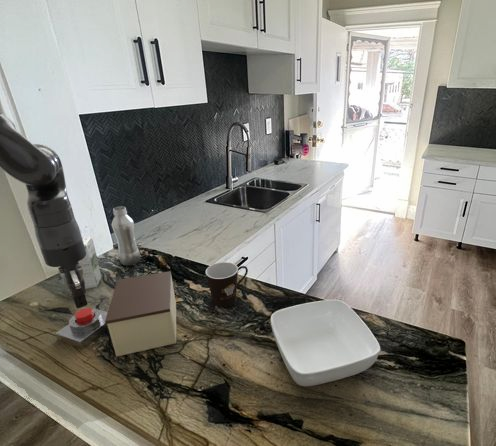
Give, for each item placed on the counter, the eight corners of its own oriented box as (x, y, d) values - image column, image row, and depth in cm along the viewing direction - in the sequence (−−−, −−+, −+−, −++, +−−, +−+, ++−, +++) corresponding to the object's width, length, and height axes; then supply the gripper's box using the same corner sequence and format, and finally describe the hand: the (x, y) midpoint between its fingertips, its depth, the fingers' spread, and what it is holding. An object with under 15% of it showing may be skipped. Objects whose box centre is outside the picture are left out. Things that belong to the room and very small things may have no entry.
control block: (82, 349, 72) (77, 335, 70) (57, 340, 74) (52, 327, 73) (118, 321, 81) (115, 308, 79) (95, 314, 83) (91, 302, 81)
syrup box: (81, 280, 97) (69, 238, 92) (103, 277, 99) (92, 235, 93) (75, 290, 92) (62, 246, 87) (98, 287, 94) (86, 244, 88)
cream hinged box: (176, 343, 74) (170, 309, 70) (116, 356, 70) (106, 321, 66) (176, 303, 87) (171, 273, 84) (125, 313, 83) (118, 282, 80)
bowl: (340, 317, 83) (342, 293, 80) (385, 379, 66) (390, 351, 63) (265, 335, 77) (264, 310, 74) (293, 409, 59) (293, 380, 56)
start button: (84, 325, 74) (82, 319, 73) (73, 321, 75) (71, 316, 74) (97, 316, 77) (96, 310, 76) (86, 312, 78) (85, 306, 77)
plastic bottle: (133, 256, 112) (122, 203, 104) (146, 261, 108) (135, 207, 101) (116, 264, 106) (102, 209, 99) (128, 270, 103) (115, 213, 95)
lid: (170, 311, 69) (169, 308, 69) (105, 324, 65) (104, 321, 65) (171, 273, 84) (170, 271, 83) (118, 282, 80) (117, 279, 79)
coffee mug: (209, 312, 84) (205, 280, 80) (208, 293, 92) (205, 264, 88) (252, 305, 87) (250, 274, 83) (248, 288, 95) (246, 259, 91)
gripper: (34, 235, 70) (57, 299, 76) (44, 257, 61) (68, 327, 68) (74, 226, 74) (92, 287, 81) (88, 245, 66) (107, 311, 72)
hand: (81, 305), depth 74 cm, fingers closed
